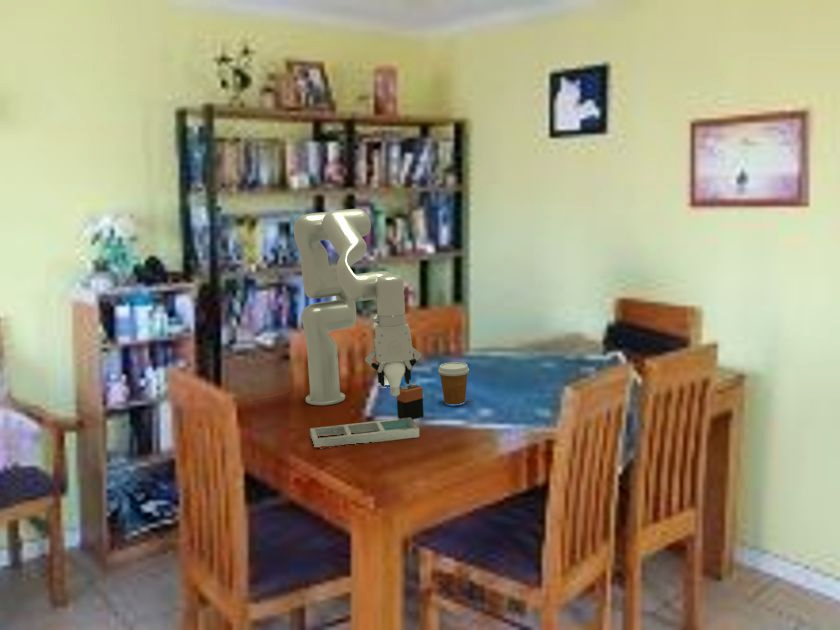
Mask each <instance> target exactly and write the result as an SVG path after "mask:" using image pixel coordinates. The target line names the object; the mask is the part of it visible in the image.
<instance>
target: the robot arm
mask: <svg viewBox="0 0 840 630" xmlns="http://www.w3.org/2000/svg"><path fill="white" fill-rule="evenodd" d="M371 226H372V225H371V219H370V217H369V215H368V214H367V212H366V211H364V210H363V209H361V208H350V209H349V208H348V209H338V210H332V211H325V212H321V211H320V212H312V213H306V214H303V215H300V216H298V217H297V218H296V219H295V222H294V224H293V236H294V241H295V244H296V246H297V249H298V252H299V255H300V265H301V266H300V267H301V276H302V283H303V285H302V286H303V292H304V294H305V296H306V297H307V298H309V299H313V300H314V299H316V300H317V299H324V298H325V299H326V298H331V297H335V298H336V299H335V300H329V301H328V300H327V301H321V302H320V301H319V302H316V303H315V302H314V303H310V304H309V305H307V306H305V307H304V308H303V310H302V312H301V321H302V322H301V323H302V326H303V331H304V334H305V342H306V351H307V352H306V353H307V364H308V365H307V366H308V381H309V394H308V395H307V396H306V397H305V402H306V403H307V404H309V405H312V406H331V405H335V404H339V403H341V402H343V401H345V399H346V395H345V394H344V393H343V392H342V391H341V389H340V388H341V387H340V374H339V373H340V371H339V369H340V368H339V357H338V355H339V354H338V353H339V352H338V345H337V342H336V341H335V339H334V337H332V336H331V335H330V333H331V332H334V331H340V330H341V331H343V330H347V329H350V328H352V327H353V326H355V324H356V321H357V305H356V302H365V301H371V300H376V312H377V314H376V315H377V316H376V315H375V317H372V319H371V321H372V324H373V323H375V324H376V323H377V324H378V325H377V326H376V325H375V326H376V328H375V327H374V328H375V329H374V339H373V341H374V343H373V349H372V351H371V352H370V353H369V354H368V355H366V357H365V358H364V360H365V362H366V363H367V364H369V366H371V367H372V368H373V369H374V370H375V371H376V372H377V384H378V383H380V384H381V386H382V387H381V388H384V387H383V386H385V383H384V372H383V370H382V369H383V367H384V364H385V363H394V362H404V364H405V368H406V370H405V374H404V376H403V379H404V382H405V384H407V385H410V381H411V380H412V373H411V370H412V368H413V367H414V366H415V365H416V363H417V361H418V360H420V359H421V357H422V353H421V352H419V350H417V349H416V348H414V347H413V344H412V342H413V341H412V335H411V329H410V324H408V323H406V306H405V285H404V278H403V277H402V276H401V275H399V274H392V273H391V272H389V271H386V270H379V271H370V272H364V273H354V272H353V270H352V268H351V266H353V265H354V264H356V263H357V262H359V261H360V260H361V259H362V258H363V257H364V256H365V254H366V252H367V249H368V245H367V243H366V241H365V240H364V238H363V237H366V236H367V235H368V234H369V233H370V231H371V229H372V228H371ZM320 241H329V242H330V244H331V245H332V247H333V248H334V251H335V252H336V253H337V255H338V260H337V262H336V263H337V264H336V265H331V266H330V264H329V254H328V251H327V249H326V248H325V246H324V245H323V244H322V242H320ZM373 359H375V360H376V361H377V363H376V362H374V361H373Z"/></svg>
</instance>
